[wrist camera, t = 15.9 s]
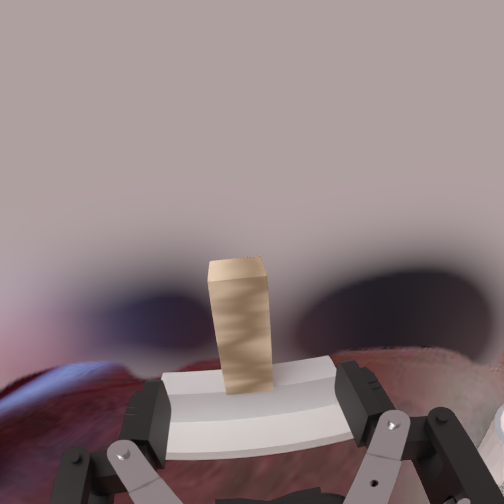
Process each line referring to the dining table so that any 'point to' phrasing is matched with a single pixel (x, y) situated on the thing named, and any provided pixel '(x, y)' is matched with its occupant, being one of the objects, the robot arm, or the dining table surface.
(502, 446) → the white cylinder
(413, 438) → the robot arm
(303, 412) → the ridge stand
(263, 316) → the maple block
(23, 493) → the dining table surface
